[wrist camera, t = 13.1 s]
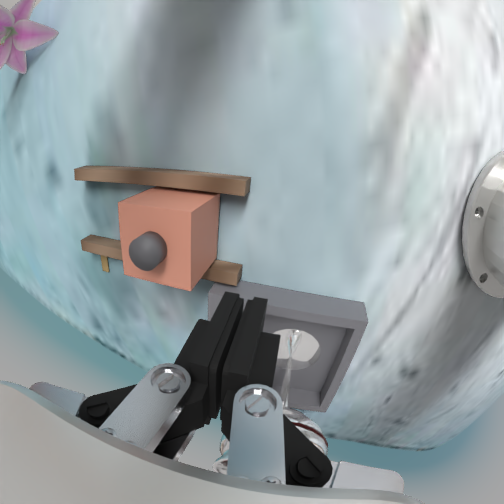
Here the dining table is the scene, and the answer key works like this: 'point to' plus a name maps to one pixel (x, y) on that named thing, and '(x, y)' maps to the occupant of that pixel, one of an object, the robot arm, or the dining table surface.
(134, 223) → the piston block
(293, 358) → the wineglass
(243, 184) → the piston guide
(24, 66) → the lily
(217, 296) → the tray
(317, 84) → the dining table surface
